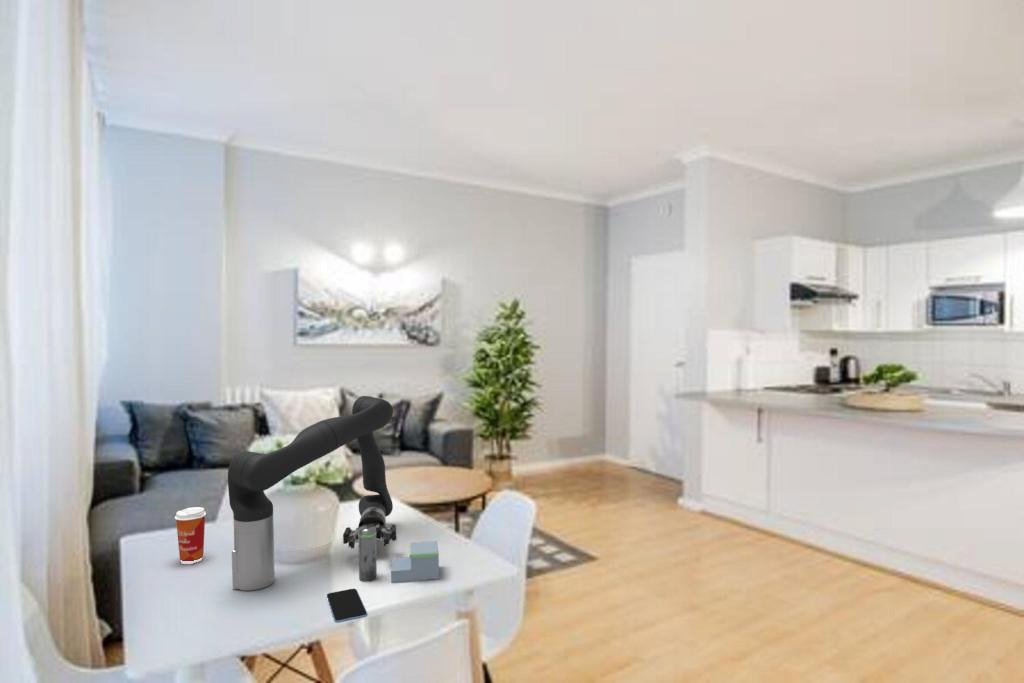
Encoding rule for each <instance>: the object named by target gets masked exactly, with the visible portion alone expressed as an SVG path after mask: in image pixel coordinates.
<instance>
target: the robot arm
mask: <svg viewBox="0 0 1024 683" xmlns="http://www.w3.org/2000/svg"><path fill="white" fill-rule="evenodd" d="M351 411H352V412H351V413H352V414H349V415H343V416H336V417H335V416H334V417H330V418H325V419H322V420H320V421H318V422H315V423H314V424H311V425H309V426H307V427H306V428H304V429H302V430H300V431H299V433H298V434H297V435H296V436H295V438H294V439H293V440H292V441H291V442H290V443H289V444H288V445H286V446H283V447H281V448H280V449H277V450H273V451H271V452H268V453H261V452H255V451H241V452H239V453H237V454H236V455H235V456H234V457H233V458H232V459H231V461H230V463H229V466H228V469H227V485H228V487H227V488H228V500H229V507H230V509H231V511H232V513H233V517H232V518H233V540H234V541H233V544H234V545H233V546H234V547H233V549H232V550H231V572H232V573H231V574H232V576H231V580H232V590H239V589H240V590H239V591H247V592H248V591H257V590H261V589H264V588H266V587H269V586H271V585H272V584H274V582H275V580H276V578H275V577H276V575H275V573H276V572H275V539H274V538H275V535H274V534H275V532H274V530H275V529H274V525H275V524H274V505H273V502H272V501H271V500H270V498H269V497H268V496H267V495H266V494H265V492H264V491H266V490H268V489H270V488H272V487H273V486H275V485H277V484H278V483H279V482H282V480H284V479H286V478H287V477H288V476H290V475H291V474H293V473H294V472H296V471H298V470H299V469H301V468H303V467H305V466H307V465H309V464H311V463H314V462H315V461H317V460H318V459H321V458H323V457H326V456H327V455H329V454H330V453H332V452H335V451H336V450H337V449H340V448H341V447H343V446H345V445H347V444H348V443H350V442H353V441H354V440H357V443H358V447H359V448H358V450H359V453H360V459H361V468H362V469H361V470H362V484H363V488H364V489H365V490H366V491H367V492H374V493H377V494H368V495H364V496H362V497H361V498H360V500H359V501H358V511H359V515H360V518H359V522H358V527H357V528H355V529H352V528H351V527H349V526H348V527H346V528H345V529H344V532H343V533H342V539H343V540H342V541H343V542H342V543H343V544H344V545H346V544H347V545H348V547H349V548H350V549H354V548H355V544H356V543H357V544H359V537H358V529H359V528H360V527H362V526H366V525H372V526H375V527H376V541H380V542H383V547H387V545H390V541H391V540H392V541H393V542H394V541H397V525H396V524H391V526H389V527H387V520H386V519H387V518H386V517H389V516H390V515H391V513H392V512H393V508H394V505H393V500H392V497H391V495H390V492H389V490H388V485H387V480H386V479H387V478H386V477H387V476H386V464H385V460H384V457H383V455H382V452H381V450H380V448H379V447H378V444H377V442H376V438H375V436H374V432H376V431H378V430H380V429H383V428H384V427H386V426H387V425H388V424H389V423H390V421H391V420H392V418H393V416H394V409H393V406H392V404H391V403H390V402H389V401H388V400H385V399H383V398H379V397H373V396H368V395H362V396H359V397H358V398H357V399H355V401H354V403H353V405H352V410H351Z"/></svg>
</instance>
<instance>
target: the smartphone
mask: <svg viewBox="0 0 1024 683" xmlns="http://www.w3.org/2000/svg"><path fill="white" fill-rule="evenodd" d="M326 595H327V597H326V599H327V598H328V601H327V603H328V602H329V604H328V606H330V607H329V609H331V610H330V614H331V617H332V619H333V618H334V619H333V621H334V622H335V623H337V624H338V623H343V622H344V623H345V622H348V621H352V620H358V619H362V618H365V617H367V616H368V612H367V609H366V607H365V605H364V603H363V601H362V599H361V596H360V594H359V592H358V590H357V589H356V588H350V589H344V590H339V591H333V592H328V593H327V594H326Z"/></svg>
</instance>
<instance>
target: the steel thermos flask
mask: <svg viewBox="0 0 1024 683" xmlns="http://www.w3.org/2000/svg"><path fill="white" fill-rule="evenodd" d="M358 537H359V543H358V578H359V579H358V580H359V581H360V582H363V581H364V582H365V581H366V582H365V583H368V582H367V581H369V582H372V580H373V581H375V580H376V579H377V578H378V577H377V575H378V574H377V572H378V571H377V570H378V569H377V566H378V565H377V564H378V563H377V540H376V527H375V526H372V525H366V526H362V527H360V528H359V529H358Z"/></svg>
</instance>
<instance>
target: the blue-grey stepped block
mask: <svg viewBox="0 0 1024 683" xmlns="http://www.w3.org/2000/svg"><path fill="white" fill-rule="evenodd" d="M438 545H439V543H438V540H430V541H416V542H414V541H413V542H409V553H408V554H409V557H397V558H391V566H390V567H391V568H390V583H393V584H394V583H407V582H418V581H417V580H421V581H428V580H427V579H434V580H439V579H440V569H439V567H440V566H439V565H440V562H439V560H440V558H439V556H440V555H439V554H440V553H439V552H440V551H439V546H438Z"/></svg>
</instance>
